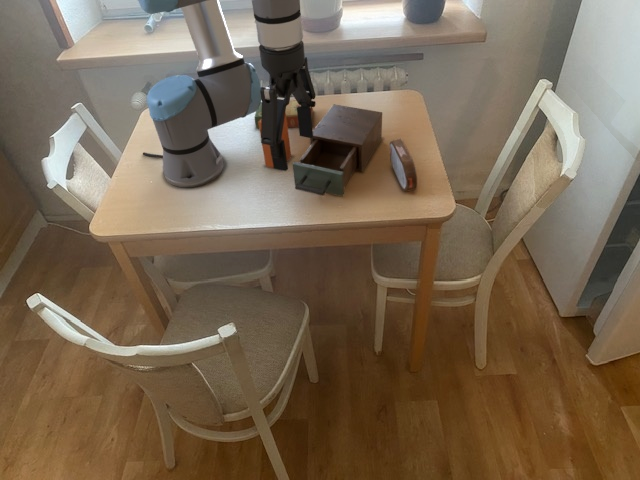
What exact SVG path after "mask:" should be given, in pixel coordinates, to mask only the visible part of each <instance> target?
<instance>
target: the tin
mask: <svg viewBox="0 0 640 480" xmlns="http://www.w3.org/2000/svg"><path fill="white" fill-rule="evenodd" d="M389 160H390V163H391V167H392V170H393V172H394V174H395V177H396V179H397V181H398V183H399V185H400V188H401V189H402V191H404V192H411V191H416V190H417V188H418V175H417V169H416V165H415V162H414V159H413V157H412V156H411V153H410V151H409V149H408V148H407V145H406V144H405V142H404V140H403V138H398V139H392V140H391V141H390V142H389Z"/></svg>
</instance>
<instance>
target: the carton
mask: <svg viewBox="0 0 640 480" xmlns="http://www.w3.org/2000/svg"><path fill="white" fill-rule="evenodd" d="M298 106H301V105H299V104H298V102H297V101H296V99H294V100H290V102H289V104H288V105H287V106H286V111H285V113H286V118H287V126H288V128H297V127H298V128H299V125H298V115H297V107H298ZM310 108H311V118H312V119H313V114H314V113H313V108H314V107H310ZM261 117H262V101H261V104H260V107H259V109H258V110H257V111H256V112H255V114H254V124H255V128H256V129H257V130H259V125H258V122H259V121H260V120H261Z"/></svg>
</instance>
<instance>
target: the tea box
mask: <svg viewBox="0 0 640 480" xmlns="http://www.w3.org/2000/svg"><path fill="white" fill-rule="evenodd" d="M258 125H259V129H258V130H259V136H260V137H261V120H260V121H259V122H258ZM281 139H282V140H284V143H285V150H286V158H287V163H288V162H289V160H290V159H291V158H292V150H291V143H290V134H289V127H288V126H287V118H286V113H285V118H284V125H283V131H282V138H281ZM261 146H262V147H261V148H262V152H263V153H262V154H263V158H264V163H265V167H267V168H271V169H274V167H273V161H272V156H271V151H270V145H266V144H262V143H261Z"/></svg>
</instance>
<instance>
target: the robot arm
mask: <svg viewBox="0 0 640 480" xmlns="http://www.w3.org/2000/svg"><path fill="white" fill-rule="evenodd" d="M137 1H138V4H139V6H140V7H141V9H142V10H143V11H144V12H145V13H146V14H149V15H155V14H161V13H170V12H173V11H175V10H179V9H181V12H182V15H183V17H184V20H185V23H186V26H187V29H188V32H189V34H190V37H191V40H192V43H193V46H194V49H195V52H196V55H197V57H198V60H199V62H198V65H197V68H196V69H195V71H196V74H197V77H198V78H196V79H194V78H193V77H191V76H190V75H187V74H180V75H177V74H176V75H172V76H168V77H166V78H163V79H161V80H160V81H158V82H156V83H155V84H154V85H153V86H151V88H150V90H148V92H147V95H146V103H147V108H148V111H149V117H150V119H151V120H152V122H153V125H154V128H155V130H156V134H157V136H158V139H159V142H160V145H161V147H162V154H154V153H148V152H145V151H143V152H142V155H143V156H145V157H148V158H158V159H162V173H163V176H164V178H165V180H166V182H168V184H170V185H172V186H174V187H179V188H194V187H195V188H196V187H200V186H203V185H206V184H208V183H211V182H212V181H214V180H215V179H217V178H218V177H219V175H221V173H222V171H223V170H224V159H223V156H222V155H221V152H220V151H219V149H218V148H217V146H216V145H215V143H214V142H212V139H211V138H210V135H209V131H208V130H210V129H214V128H217V127H219V126H222V125H225V124H227V123H229V122H233V121H235V120H238V119H244V118H246V117H247V116H249V115H252V114H254V113H256V111H257V110H258V109H259V107H260V104H261V102H262V117H261V136H260V144H261V145H262V144H266V145H270V151H271V156H272V161H273V167H274V168H273V169H275V170H278V171H279V170H280V171H284V172H287V171H288V170H289V166H288V165H289V164H288V162H287V158H286V150H285V143H284V140H282V139H281V138H282V131H283V125H284V118H285V111H286V106H287V105H288V104H289V102H290V101H291V95H292V96H293V98H294V100H296V101H297V102H298V104H299V105H301V106H298V107H297V115H298V125H299V127H298V132H299V137H302V138H306V139H307V138H308V139H310V138H312V137H313V130H314V129H313V117H312V118H311V108H310V107H312V108H315V107H316V105H317V103H316V100H315V99H316V92H315V88H314V85H313V81H312V77H311V74H310V71H309V66H308V65H309V64H308V57H307V56H306V55H305V44H304V40H303V38H304V30H303V23H302V11H301V0H251V5H252V10H253V17H254V24H255V28H256V29H255V30H256V35H257V42H258V43H259V46H258V51H259V57H260V63H261V64H260V65H261V67H262V68H263V69H264V70H265V71H266V72H267V73H268V75H269V81H268V86H266V87H265V86H262V85H261V81H260V77H259V74H258V72H257V71H256V68H255V66H254V65H253V64H252V63H249V62H245V58H244V56H243V55H241V54H240V53H238V52H236V50H235V49H234V48H235V47H234V45H233V42H232V39H231V36H230V32H229V30H228V26H227V23H226V19H225V16H224V14H223V11H222V7H221V4H220V1H219V0H137ZM280 98H282V99H280Z"/></svg>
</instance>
